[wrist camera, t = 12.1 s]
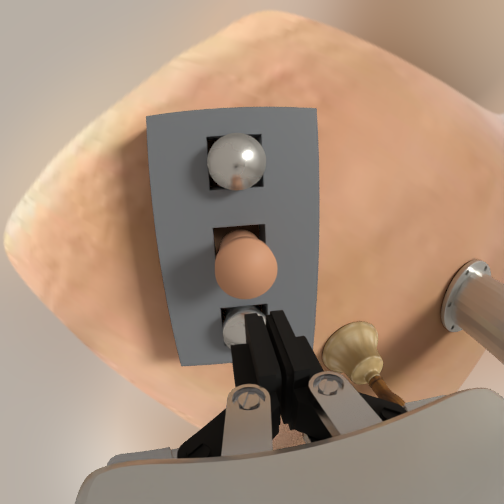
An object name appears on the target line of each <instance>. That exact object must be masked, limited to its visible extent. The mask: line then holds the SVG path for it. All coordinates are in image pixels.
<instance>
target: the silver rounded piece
mask: <svg viewBox="0 0 504 504" xmlns="http://www.w3.org/2000/svg"><path fill="white" fill-rule="evenodd" d="M250 313H257V314H258V316H263V319H264V322H265V325H266V319H265V317H266V316H265V315H264V314H263V313H262V312H261V311H260V308H259V305H249V306H238V307H228V308H225V316H226V319H225V320H224V323H223V339H224V342H225V344H226V345H227V346H228V347H229V348H230V349H231V346H230V345H236V344H246V334H245V320H244V314H250Z"/></svg>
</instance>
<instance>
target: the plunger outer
mask: <svg viewBox="0 0 504 504" xmlns="http://www.w3.org/2000/svg"><path fill="white" fill-rule="evenodd" d="M207 165H208V170H209V173H210V175H211V177H212V178H213V180H214V181H215V182H216V183H217V184H219V185H220V186H222V187H223V188H226V189H229V190H244V189H247V188H250V187H251V186H253V185H254V184H256V183H257V182H258V181H259V180H260V178H261V177H262V175H263V173H264V171H265V167H266V156H265V152H264V150H263V148H262V146H261V145H260V143H259V142H258V141H257V140H256V139H254V138H253V137H251V136H249V135H247V134H243V133H231V134H227V135H225V136H223V137H221V138H219V139H218V140H217V141H216V142H215V143H214V144H213V145H212V147H211V149H210V151H209V154H208V159H207Z"/></svg>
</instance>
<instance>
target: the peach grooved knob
mask: <svg viewBox="0 0 504 504" xmlns="http://www.w3.org/2000/svg"><path fill="white" fill-rule="evenodd" d="M277 269H278V268H277V262H276V259H275V257H274V255H273V253H272V251H271V250H270V248H269V247H268V246H267V245H266V244H265V243H264V242H263V241H261V240H259V239H258V238H257V237H256V236H255V235H254V234H253V233H252V232H250V231H247V230H243V229H238V230H234V231H231V232H229V233H228V234H226V235H225V236H224V238H223V239H222V241H221V243H220V246H219V252H218V254H217V256H216V259H215V277H216V280H217V283H218V285H219V286H220V288H221V289H222V290H223V291H224V292H225V293H226V294H228V295H230V296H232V297H234V298H238V299H252V298H256V297H258V296H260V295H262V294H264V293H265V292H267V291H268V290H269V289H270V287H271V286H272V285H273V283H274V281H275V279H276V276H277Z"/></svg>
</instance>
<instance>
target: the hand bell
mask: <svg viewBox="0 0 504 504" xmlns="http://www.w3.org/2000/svg"><path fill="white" fill-rule="evenodd" d="M377 344H378V333H377V330H376V329H375V327H374V326H373V325H372V324H370V323H368V322H362V321H360V322H353V323H350V324H348V325H345V326H343V327H342V328H340V329H339V330H337V331H336V332H335V333H334V334H333V335H332V336H331V337H330V338H329V340H328V341H327V343H326V344H325V347H324V349H323V354H322V358H323V362H324V364H325V366H326V367H327V368H328V369H330V370H332V371H334V372H340V373H345V374H346V375H347V376H348V377H349V378H350V379H351V380H352V381H353V382H354V383H356V384H366V383H368V384H369V386H370V387H371V388H372V390H373V391H374V392H375V394H376V395H377V396H378V398H379V399H383V400H386V401H390V402H394V403H397V404H399V405H401V406H404V404H405V402H404V401H403V400H402V399H401V398H400V397H399V396H397V395H396V394H394V393H393V392H392V391H391V390H390V389H389V388H388V386H387V385H386V383H385V382H384V380H383V379H382V377H381V376H380V375H379V373H380V372H381V370H382V367H383V360H382V358H381V357H380V355H379V353H378V351H377Z"/></svg>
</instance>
